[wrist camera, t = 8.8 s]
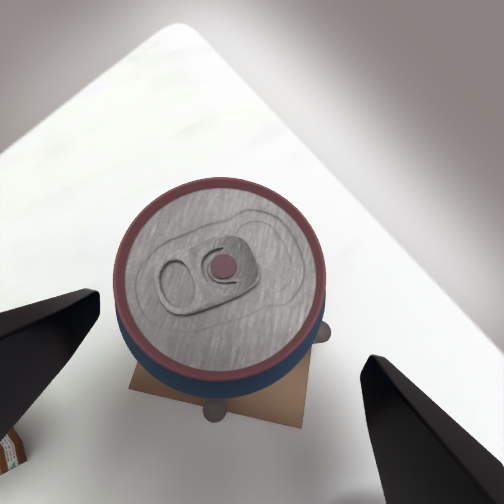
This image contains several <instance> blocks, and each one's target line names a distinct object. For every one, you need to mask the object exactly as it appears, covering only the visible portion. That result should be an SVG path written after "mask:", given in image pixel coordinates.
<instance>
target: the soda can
mask: <svg viewBox="0 0 504 504" xmlns="http://www.w3.org/2000/svg"><path fill="white" fill-rule="evenodd" d="M325 287H326V268H325V261H324V256H323V252H322V249H321V246H320V243H319V241H318V238H317V236H316V234H315V232H314V230H313V229H312V227H311V225H310V224H309V222H308V221H307V220H306V218H305V217H304V216H303V215H302V213H301V212H300V211H299V210H298V209H297V208H296V207H295V206H294V205H293V204H291V203H290V202H289V201H288V200H287V199H285V198H284V197H282V196H281V195H279V194H278V193H276V192H274V191H272V190H270V189H269V188H266V187H264V186H262V185H259V184H256V183H253V182H250V181H246V180H242V179H237V178H228V177H213V178H205V179H200V180H196V181H192V182H189V183H186V184H183V185H180V186H178V187H175V188H173V189H171V190H169V191H167V192H166V193H164V194H162V195H161V196H159V197H158V198H156V199H155V200H154V201H152V202H151V203H150V204H149V205H148V206H146V207H145V208H144V209H143V210H142V211H141V212H140V213H139V215H138V216H137V217H136V218H135V219H134V221H133V222H132V223H131V225H130V226H129V228H128V230H127V231H126V233H125V235H124V237H123V239H122V241H121V243H120V246H119V249H118V252H117V255H116V259H115V264H114V270H113V291H114V298H115V308H116V315H117V321H118V324H119V328H120V331H121V333H122V336H123V338H124V340H125V342H126V344H127V346H128V348H129V350H130V351H131V353H132V354H133V356H134V357H135V358H136V360H137V361H138V362H139V363H140V364H141V366H142V367H143V368H144V369H145V370H146V371H147V372H149V373H150V374H151V375H152V376H153V377H155V378H156V379H157V380H159V381H160V382H162V383H163V384H165V385H167V386H169V387H171V388H173V389H175V390H177V391H180V392H182V393H185V394H189V395H192V396H197V397H202V398H212V399H224V398H234V397H240V396H244V395H248V394H251V393H254V392H257V391H259V390H262V389H264V388H266V387H268V386H270V385H272V384H274V383H275V382H277V381H278V380H280V379H281V378H283V377H284V376H285V375H286V374H288V373H289V372H290V371H291V370H292V369H293V368H294V367H295V366H296V365H297V364H298V363H299V362H300V361H301V360H302V358H303V357H304V356H305V354H306V353H307V352H308V350H309V349H310V347H311V345H312V343H313V342H314V340H315V338H316V336H317V333H318V331H319V328H320V325H321V322H322V318H323V314H324V308H325V298H326V290H325Z"/></svg>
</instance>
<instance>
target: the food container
mask: <svg viewBox="0 0 504 504" xmlns="http://www.w3.org/2000/svg"><path fill="white" fill-rule="evenodd" d="M26 461H27V460H26V456H25V451H24V447H23V443H22V440H21V439H20V437H19V436H18V434H17V433H16V431H15V430H14V428H12V429H11V430H10V431H9V432H8V433H7V435H6V436H5V437H4V438H3V439H2V441H1V442H0V475H2V474H4V473H6V472H7V471H9V470H11V469H13V468H15V467H17V466H19V465H20V464H22V463H24V462H26Z"/></svg>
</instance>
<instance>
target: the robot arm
mask: <svg viewBox="0 0 504 504" xmlns="http://www.w3.org/2000/svg"><path fill="white" fill-rule="evenodd" d="M99 315H100V294H99V292H98V291H96V290H92V289H87V288H84V289H81V290H77V291H74V292H70V293H67V294H63V295H60V296H57V297H53V298H50V299H46V300H43V301H39V302H36V303H32V304H29V305H25V306H22V307H18V308H15V309H12V310H8V311H5V312H1V313H0V442H1V441H2V439H3V438H4V437H5V436H6V435H7V433H8V432H9V431H10V430H11V429H12V428H13V426H14V425H15V424H16V423H17V422H18V420H19V419H20V418H21V417H22V416H23V414H24V413H25V412H26V411H27V410H28V409H29V407H30V406H31V405H32V404H33V403H34V401H35V400H36V399H37V398H38V397H39V396H40V394H41V393H42V392H43V391H44V390H45V388H46V387H47V386H48V385H49V384H50V382H51V381H52V380H53V379H54V378H55V377H56V375H57V374H58V373H59V372H60V371H61V369H62V368H63V367H64V366H65V365H66V363H67V362H68V361H69V360H70V358H71V357H72V356H73V354H74V353H75V351H76V350H77V348H78V347H79V346H80V344H81V343H82V341H83V340H84V338H85V337H86V335H87V334H88V332H89V331H90V330H91V328H92V327H93V325H94V324H95V322H96V321H97V319H98V317H99ZM360 382H361V389H362V395H363V402H364V409H365V415H366V422H367V427H368V432H369V436H370V440H371V444H372V448H373V452H374V456H375V460H376V464H377V468H378V472H379V476H380V480H381V484H382V488H383V492H384V496H385V500H386V504H504V466H503V464H502V463H501V462H500V461H499V460H498V459H497V458H496V457H494V456H493V455H492V454H491V453H490V452H489V451H488V450H487V449H486V448H484V447H483V446H482V445H481V444H480V443H479V442H478V441H477V440H476V439H475V438H473V437H472V436H471V435H470V434H469V433H468V432H467V431H466V430H465V429H463V428H462V427H461V426H460V425H459V424H458V423H457V422H456V421H455V420H453V419H452V418H451V417H450V416H449V415H448V414H447V413H446V412H445V411H444V410H442V409H441V408H440V407H439V406H438V405H437V404H436V403H435V402H434V401H432V400H431V399H430V398H429V397H428V396H427V395H426V394H425V393H424V392H423V391H421V390H420V389H419V388H418V387H417V386H416V385H415V384H414V383H413V382H411V381H410V380H409V379H408V378H407V377H406V376H405V375H404V374H403V373H402V372H400V371H399V370H398V369H397V368H396V367H395V366H394V365H393V364H392V363H390V362H389V361H388V360H387V359H386V358H385V357H382V356H378V355H370V356H369V358H368V360H367V362H366V363H365V365H364V367H363V369H362V371H361V374H360Z"/></svg>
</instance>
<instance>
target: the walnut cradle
mask: <svg viewBox="0 0 504 504" xmlns="http://www.w3.org/2000/svg"><path fill="white" fill-rule="evenodd" d="M330 336H331V329H330V327H329V325H328V324H327V323H325V322H323V321H322V322H321V325H320V328H319V331H318V333H317V336H316V338H315V340H314V342H313V343H312V344H315V343H323V342H326V341H328V340H329V338H330ZM311 347H312V345H311ZM311 347H310V349H309V350H308V352H307V353H306V354H305V356H304V357H303V358H302V360H301V361H300V362H299V363H298V364H297V365H296V366H295V367H294V368H293V369H292V370H291V371H290V372H289V373H288V374H286V375H285V376H284V377H283V378H281V379H280V380H278V381H277V382H275V383H274V384H272V385H270V386H268V387H266V388H264V389H262V390H259V391H257V392H254V393H251V394H248V395H244V396H240V397H234V398H224V399H212V398H202V397H197V396H192V395H189V394H185V393H182V392H180V391H177V390H175V389H173V388H171V387H169V386H167V385H165V384H163V383H162V382H160V381H159V380H157V379H156V378H155V377H153V376H152V375H151V374H150V373H149V372H147V371H146V370H145V369H144V368H143V367H142V366H141V364H140V363H139V362H138V363H137V365H136V368H135V371H134V374H133V377H132V380H131V382H130V385H129V388H128V389H131V390H136V391H140V392H144V393H149V394H153V395H157V396H162V397H166V398H170V399H175V400H179V401H183V402H188V403H192V404H196V405H201V406H203V413H204V416H205V418H206V419H207V420H208V421H210V422H213V423H216V422H219V421H221V420H222V419H223V418H224V417H225V415H226V412H231V413H235V414H240V415H244V416H248V417H253V418H257V419H261V420H266V421H270V422H274V423H279V424H283V425H287V426H292V427H296V428H300V429H302V422H303V414H304V405H305V397H306V389H307V380H308V372H309V364H310V355H311Z"/></svg>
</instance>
